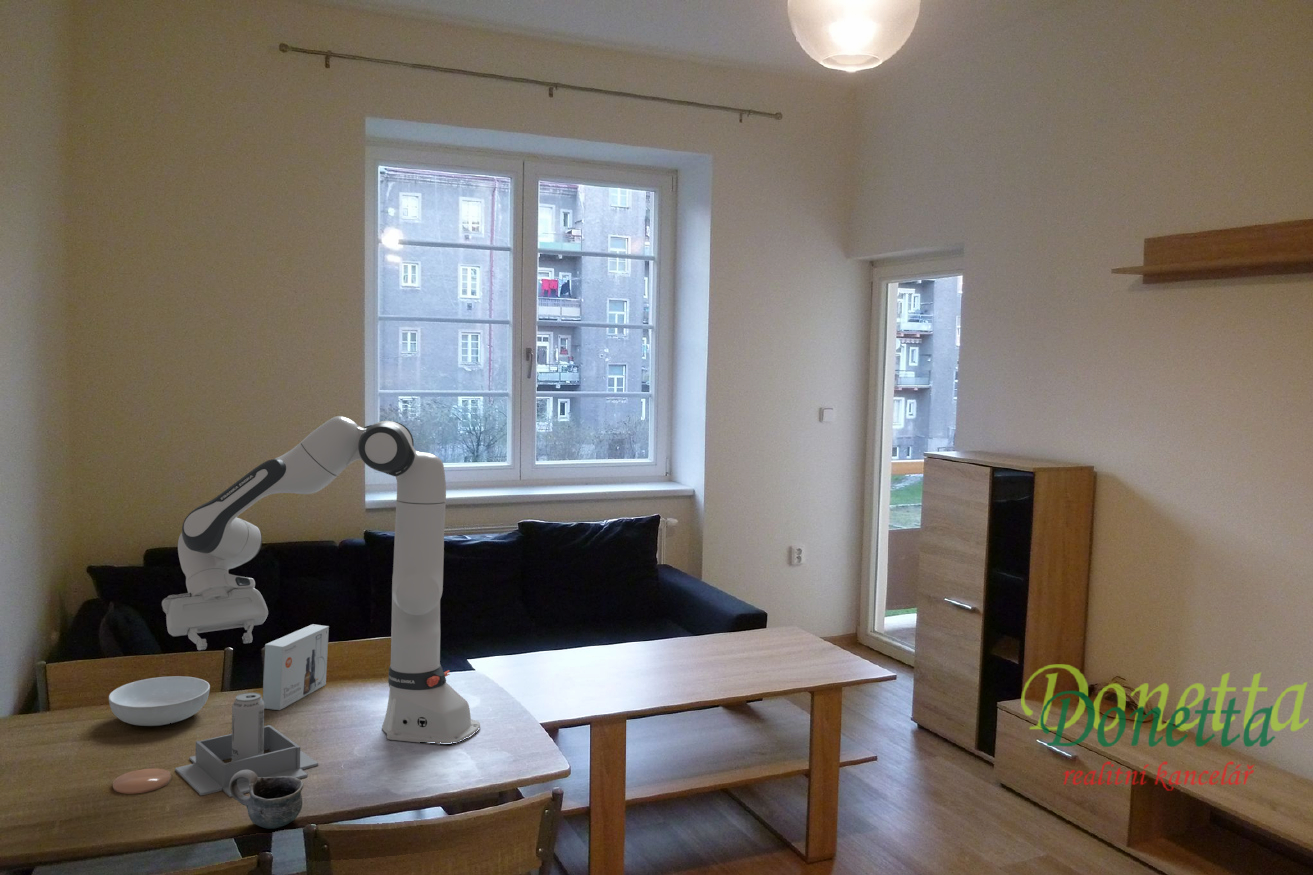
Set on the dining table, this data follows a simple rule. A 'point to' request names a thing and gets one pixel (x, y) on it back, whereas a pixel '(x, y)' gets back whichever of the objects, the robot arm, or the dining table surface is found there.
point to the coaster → (141, 781)
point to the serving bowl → (159, 700)
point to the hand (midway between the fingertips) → (226, 645)
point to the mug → (269, 798)
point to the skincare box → (295, 666)
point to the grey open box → (243, 763)
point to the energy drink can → (247, 726)
